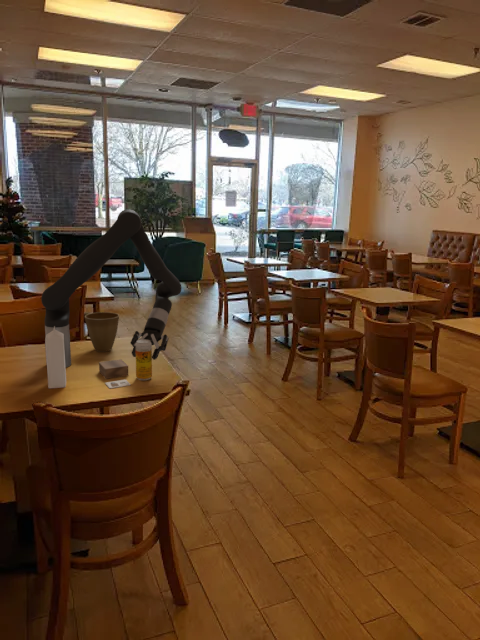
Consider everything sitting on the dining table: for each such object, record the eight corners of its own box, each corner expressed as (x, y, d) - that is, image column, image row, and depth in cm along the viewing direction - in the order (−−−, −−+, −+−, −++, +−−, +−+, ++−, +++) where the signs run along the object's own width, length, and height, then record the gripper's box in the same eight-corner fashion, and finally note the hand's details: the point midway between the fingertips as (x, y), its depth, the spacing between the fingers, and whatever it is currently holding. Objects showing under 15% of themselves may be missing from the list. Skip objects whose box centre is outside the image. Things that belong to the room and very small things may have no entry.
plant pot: (126, 349, 231) (125, 315, 227) (98, 356, 220) (97, 321, 216) (107, 342, 241) (106, 310, 237) (79, 349, 230) (78, 315, 226)
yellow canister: (138, 381, 192) (138, 344, 189) (134, 376, 198) (133, 339, 194) (154, 379, 195) (153, 342, 192) (149, 374, 200) (148, 338, 197)
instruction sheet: (109, 388, 185) (109, 387, 185) (105, 383, 190) (105, 382, 190) (130, 385, 189) (130, 384, 189) (125, 380, 194) (125, 379, 194)
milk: (48, 388, 183) (44, 330, 178) (49, 382, 189) (45, 325, 183) (66, 387, 185) (62, 329, 180) (66, 381, 191) (63, 325, 185)
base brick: (105, 378, 194) (105, 369, 193) (99, 371, 202) (99, 362, 201) (128, 375, 199) (128, 365, 198) (121, 368, 206) (121, 359, 205)
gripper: (137, 315, 201) (123, 350, 193) (170, 318, 197) (157, 355, 189) (144, 324, 207) (130, 359, 199) (175, 328, 203) (163, 364, 195)
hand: (143, 357), depth 194 cm, fingers open, 8 cm apart
